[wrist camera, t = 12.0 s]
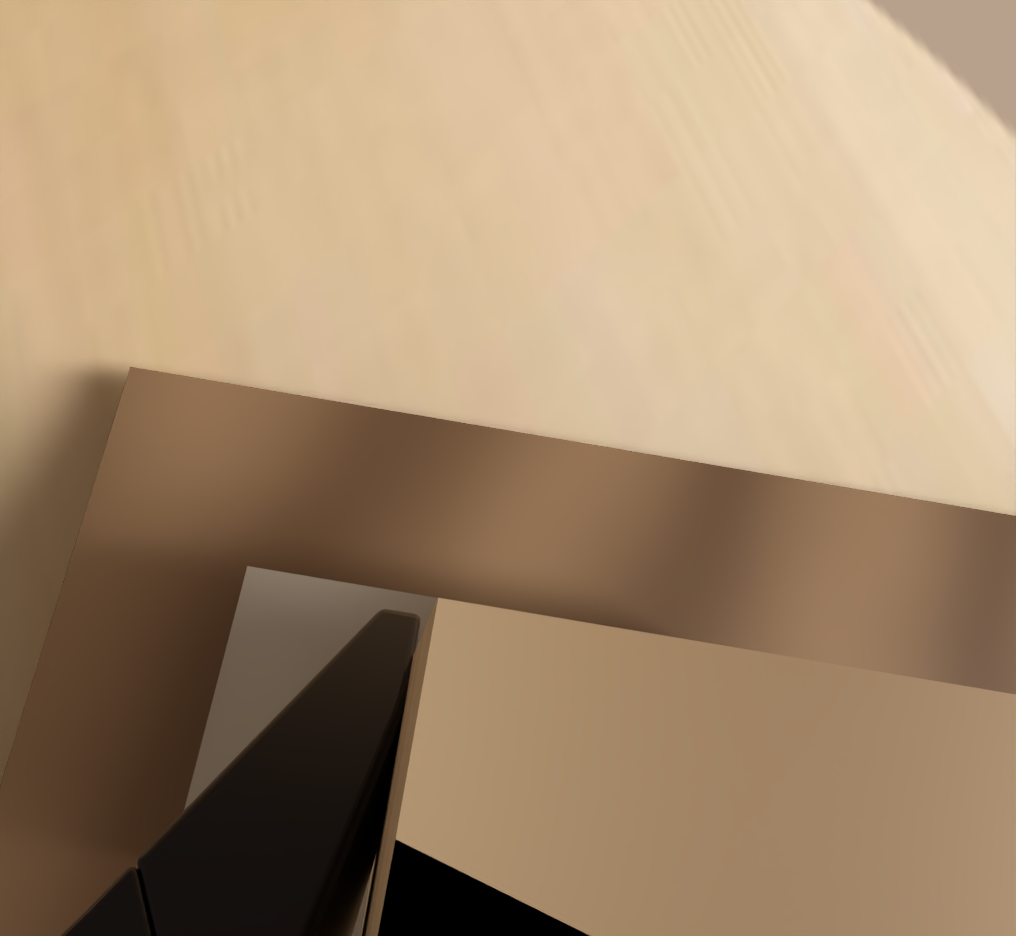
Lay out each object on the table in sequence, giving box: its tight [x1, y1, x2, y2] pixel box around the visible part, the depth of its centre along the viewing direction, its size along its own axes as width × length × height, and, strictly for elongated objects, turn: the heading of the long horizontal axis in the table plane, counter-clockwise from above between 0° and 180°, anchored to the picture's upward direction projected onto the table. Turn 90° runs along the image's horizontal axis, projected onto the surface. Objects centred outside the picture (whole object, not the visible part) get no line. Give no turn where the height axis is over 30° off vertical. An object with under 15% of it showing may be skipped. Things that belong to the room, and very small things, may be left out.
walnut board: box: [0, 367, 1016, 936], centre depth 14 cm, size 22×12×2 cm, turn 83°
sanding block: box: [184, 566, 1016, 936], centre depth 7 cm, size 8×4×11 cm, turn 81°
